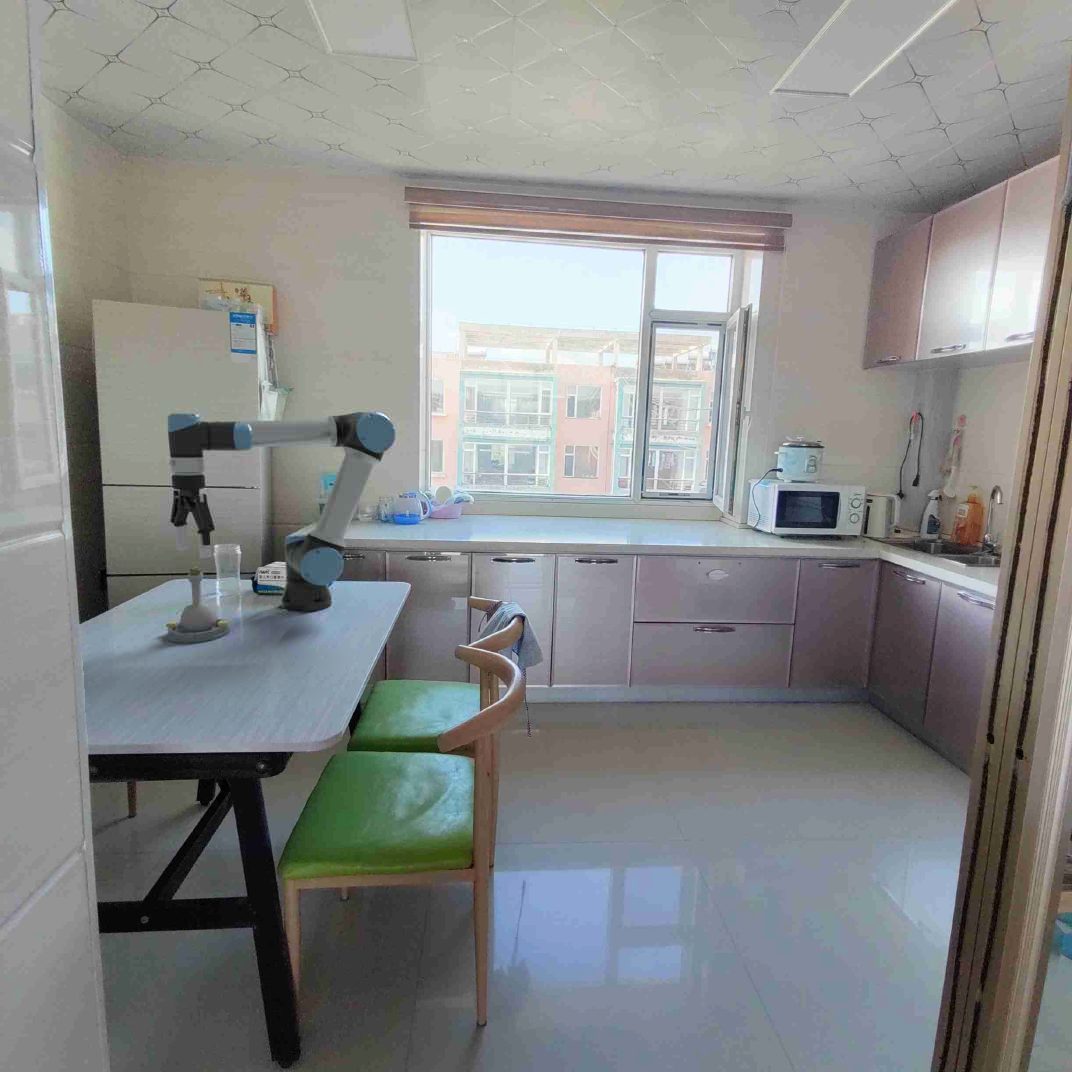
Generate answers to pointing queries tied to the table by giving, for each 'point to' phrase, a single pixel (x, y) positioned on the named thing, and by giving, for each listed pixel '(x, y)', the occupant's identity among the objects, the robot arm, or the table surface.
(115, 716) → the table surface
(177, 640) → the grey flat ring
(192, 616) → the potion bottle
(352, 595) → the table surface
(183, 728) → the table surface
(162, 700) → the table surface
